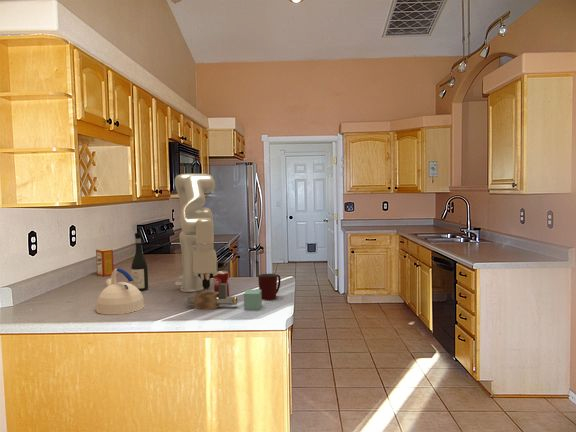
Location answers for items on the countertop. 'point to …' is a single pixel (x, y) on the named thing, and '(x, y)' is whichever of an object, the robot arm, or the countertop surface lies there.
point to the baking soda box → (104, 262)
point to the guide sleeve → (206, 300)
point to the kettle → (119, 296)
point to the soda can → (221, 280)
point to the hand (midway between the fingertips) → (206, 288)
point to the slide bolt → (221, 299)
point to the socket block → (252, 300)
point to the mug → (268, 286)
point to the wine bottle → (139, 267)
